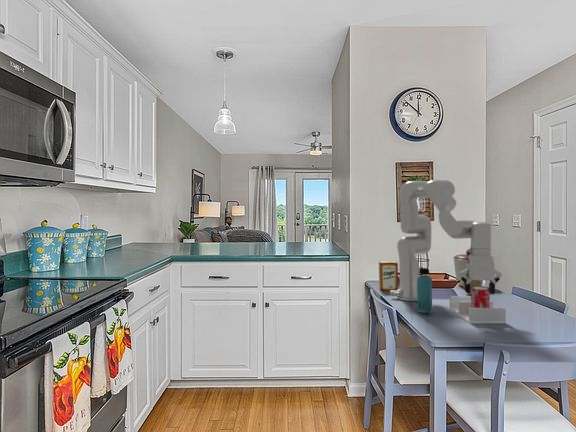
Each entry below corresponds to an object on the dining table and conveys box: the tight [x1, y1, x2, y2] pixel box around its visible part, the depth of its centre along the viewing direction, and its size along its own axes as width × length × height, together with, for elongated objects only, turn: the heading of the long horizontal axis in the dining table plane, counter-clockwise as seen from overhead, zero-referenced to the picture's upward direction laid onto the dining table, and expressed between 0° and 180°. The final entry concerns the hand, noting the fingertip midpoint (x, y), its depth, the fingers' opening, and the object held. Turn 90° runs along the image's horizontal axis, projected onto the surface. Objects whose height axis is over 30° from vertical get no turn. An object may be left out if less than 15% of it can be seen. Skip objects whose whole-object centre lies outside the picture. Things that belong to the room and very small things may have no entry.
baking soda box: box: [378, 260, 399, 292], centre depth 234 cm, size 10×6×16 cm
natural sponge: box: [463, 280, 482, 295], centre depth 218 cm, size 9×9×10 cm
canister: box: [452, 250, 484, 288], centre depth 240 cm, size 18×18×21 cm
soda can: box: [470, 286, 491, 308], centre depth 171 cm, size 7×7×12 cm
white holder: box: [448, 295, 507, 324], centre depth 176 cm, size 14×23×6 cm, turn 178°
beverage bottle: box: [416, 267, 433, 313], centre depth 180 cm, size 6×7×20 cm
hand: (479, 293), depth 171 cm, fingers open, 9 cm apart
